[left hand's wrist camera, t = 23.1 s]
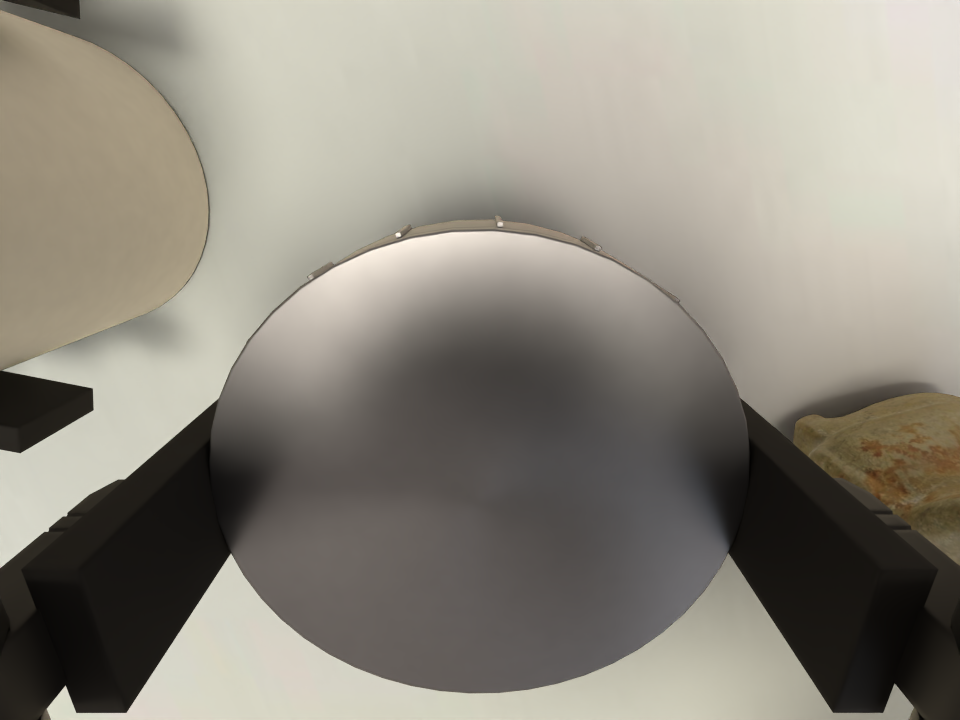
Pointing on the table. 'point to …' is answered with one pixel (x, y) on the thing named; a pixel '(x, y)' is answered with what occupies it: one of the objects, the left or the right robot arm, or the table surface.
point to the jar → (87, 192)
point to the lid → (479, 458)
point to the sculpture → (898, 459)
